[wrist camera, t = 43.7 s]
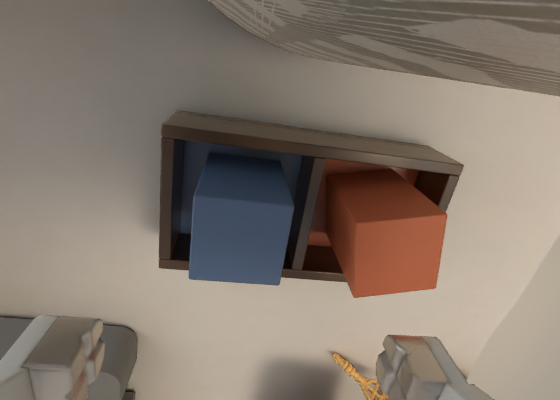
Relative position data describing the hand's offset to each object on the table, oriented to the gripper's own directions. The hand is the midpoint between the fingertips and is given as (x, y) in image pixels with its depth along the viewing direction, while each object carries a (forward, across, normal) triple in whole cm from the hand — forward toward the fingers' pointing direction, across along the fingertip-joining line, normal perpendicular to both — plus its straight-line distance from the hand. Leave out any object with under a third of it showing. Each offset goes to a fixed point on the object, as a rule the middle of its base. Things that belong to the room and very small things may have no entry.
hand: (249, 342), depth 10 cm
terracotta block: (+11, -7, 0) cm, 13 cm away
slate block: (+11, 0, 0) cm, 11 cm away
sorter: (+12, -3, 0) cm, 12 cm away
